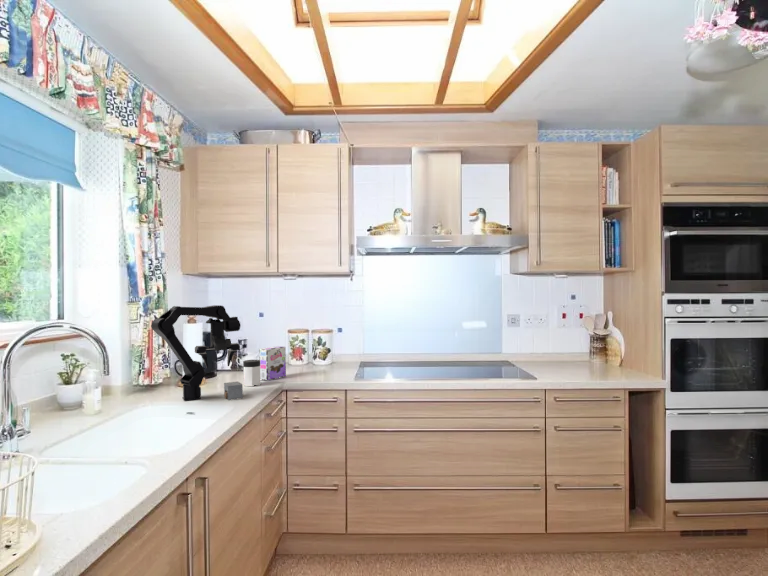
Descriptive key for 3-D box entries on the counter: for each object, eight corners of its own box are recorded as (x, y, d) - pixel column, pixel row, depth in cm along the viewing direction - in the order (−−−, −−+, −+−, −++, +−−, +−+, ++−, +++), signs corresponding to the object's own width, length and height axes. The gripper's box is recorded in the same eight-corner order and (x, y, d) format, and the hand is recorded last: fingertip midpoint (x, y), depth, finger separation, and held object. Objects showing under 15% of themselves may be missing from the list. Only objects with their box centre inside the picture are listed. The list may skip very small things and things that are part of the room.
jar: (264, 383, 228) (264, 359, 228) (256, 387, 220) (256, 362, 220) (248, 383, 230) (247, 359, 230) (239, 386, 222) (239, 361, 222)
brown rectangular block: (225, 398, 196) (225, 393, 196) (224, 397, 198) (224, 392, 198) (242, 396, 200) (242, 391, 200) (241, 395, 202) (240, 390, 202)
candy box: (267, 381, 235) (266, 349, 235) (259, 380, 238) (258, 348, 238) (286, 376, 246) (285, 346, 246) (278, 375, 249) (278, 345, 249)
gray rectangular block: (228, 400, 194) (228, 386, 194) (224, 396, 201) (224, 383, 201) (242, 398, 197) (242, 384, 197) (238, 394, 204) (237, 381, 204)
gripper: (198, 335, 196) (199, 371, 196) (242, 332, 206) (243, 367, 205) (194, 333, 205) (194, 368, 205) (236, 331, 215) (237, 364, 215)
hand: (217, 367), depth 207 cm, fingers open, 9 cm apart
